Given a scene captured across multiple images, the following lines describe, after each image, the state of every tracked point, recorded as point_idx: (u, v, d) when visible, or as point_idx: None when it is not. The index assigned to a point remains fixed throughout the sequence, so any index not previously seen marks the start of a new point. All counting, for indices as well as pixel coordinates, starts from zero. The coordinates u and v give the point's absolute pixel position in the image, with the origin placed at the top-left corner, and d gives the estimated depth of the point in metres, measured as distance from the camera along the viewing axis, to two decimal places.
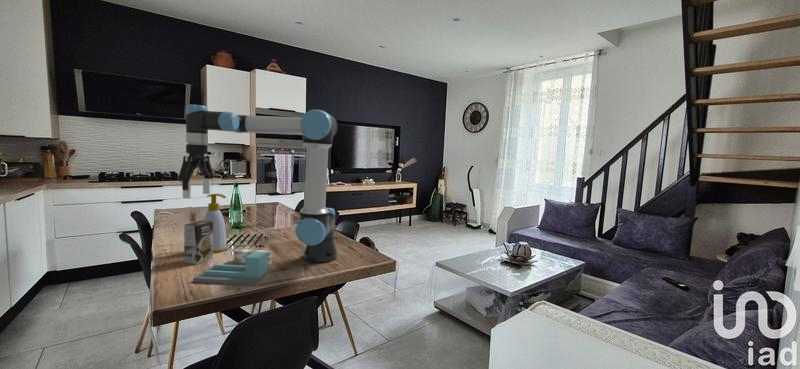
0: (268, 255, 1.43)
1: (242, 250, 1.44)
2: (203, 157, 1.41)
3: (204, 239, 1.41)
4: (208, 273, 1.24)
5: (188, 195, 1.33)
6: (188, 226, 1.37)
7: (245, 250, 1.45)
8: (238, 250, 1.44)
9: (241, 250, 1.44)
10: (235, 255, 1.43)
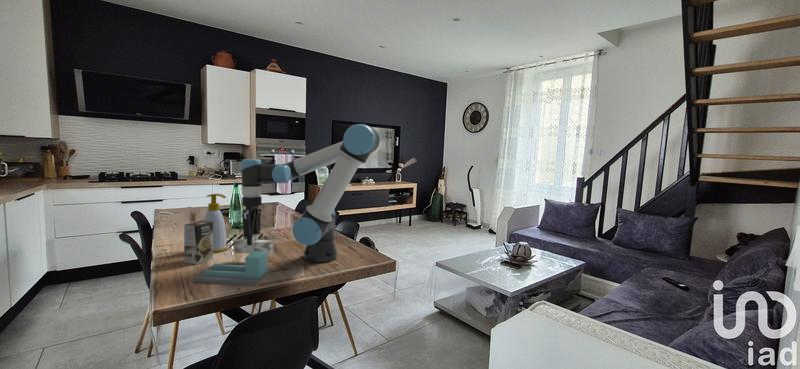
0: (269, 244, 1.42)
1: (243, 240, 1.44)
2: (257, 207, 1.45)
3: (204, 239, 1.41)
4: (208, 273, 1.24)
5: (252, 249, 1.42)
6: (188, 226, 1.37)
7: (246, 240, 1.44)
8: (239, 240, 1.43)
9: (241, 240, 1.44)
10: (236, 245, 1.42)
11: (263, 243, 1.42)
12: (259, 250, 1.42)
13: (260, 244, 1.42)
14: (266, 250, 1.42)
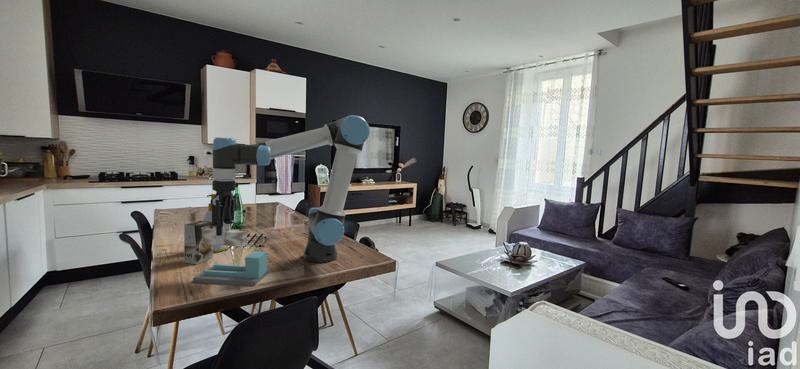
0: (241, 236, 1.25)
1: (212, 229, 1.27)
2: (230, 193, 1.28)
3: None
4: (208, 273, 1.24)
5: (222, 241, 1.25)
6: (188, 226, 1.37)
7: None
8: (208, 229, 1.26)
9: (210, 229, 1.27)
10: (204, 235, 1.25)
11: (235, 234, 1.25)
12: (230, 241, 1.25)
13: (231, 235, 1.25)
14: (238, 242, 1.25)
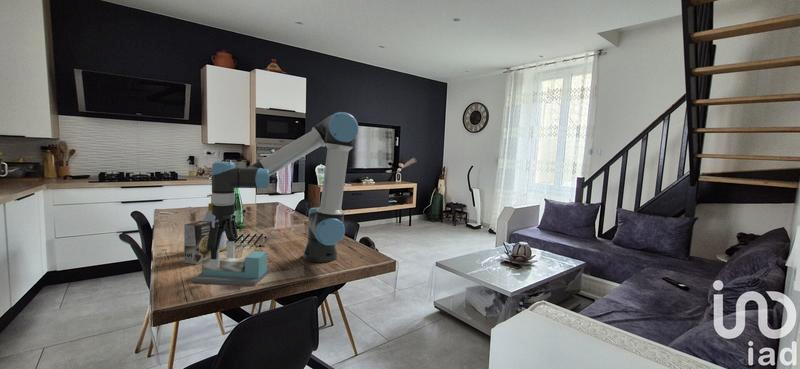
0: (241, 264, 1.26)
1: None
2: (229, 217, 1.28)
3: (204, 239, 1.41)
4: (208, 273, 1.24)
5: (217, 264, 1.22)
6: (188, 226, 1.37)
7: None
8: (207, 258, 1.27)
9: (210, 258, 1.27)
10: (203, 265, 1.26)
11: (235, 263, 1.26)
12: (230, 270, 1.26)
13: (230, 264, 1.26)
14: (238, 270, 1.26)
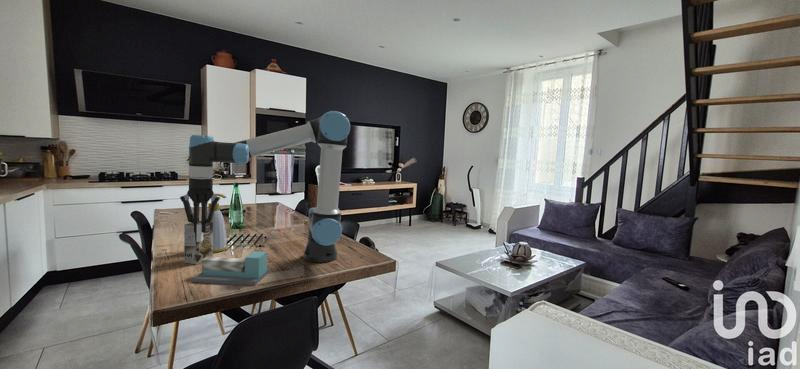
0: (241, 264, 1.26)
1: (212, 258, 1.27)
2: (208, 192, 1.24)
3: (204, 239, 1.41)
4: (208, 273, 1.24)
5: None
6: (188, 226, 1.37)
7: (215, 258, 1.27)
8: (207, 258, 1.27)
9: (210, 258, 1.27)
10: (203, 265, 1.26)
11: (235, 263, 1.26)
12: (230, 270, 1.26)
13: (230, 264, 1.26)
14: (238, 270, 1.26)
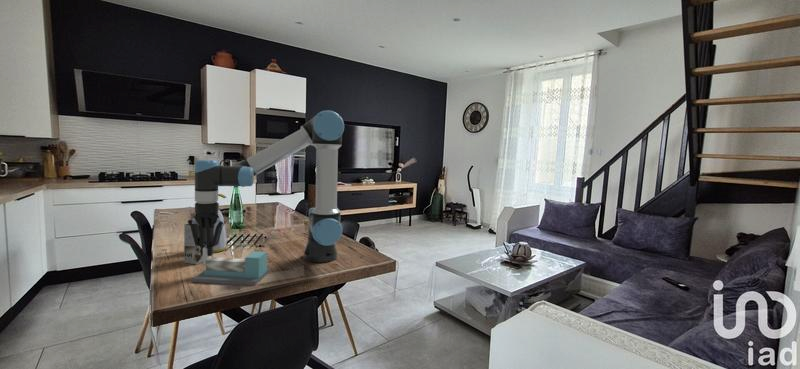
0: None
1: (215, 259, 1.27)
2: (213, 217, 1.25)
3: None
4: (208, 273, 1.24)
5: None
6: (188, 226, 1.37)
7: (219, 259, 1.27)
8: (211, 259, 1.27)
9: (214, 259, 1.27)
10: (207, 265, 1.26)
11: (238, 263, 1.25)
12: (233, 270, 1.26)
13: (234, 264, 1.26)
14: (241, 271, 1.26)
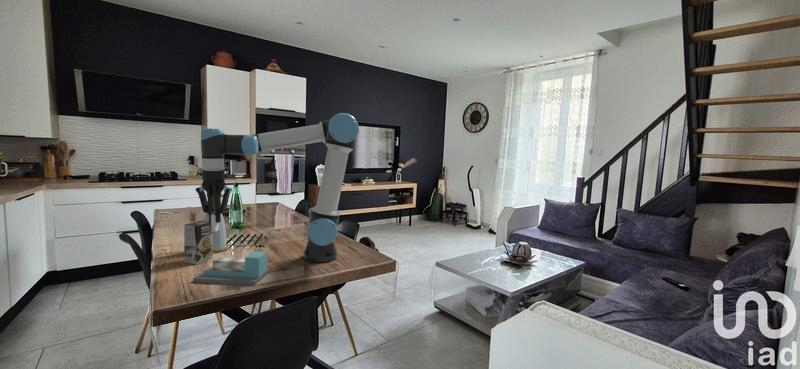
0: None
1: (222, 259, 1.27)
2: (220, 184, 1.28)
3: (204, 239, 1.41)
4: (208, 273, 1.24)
5: None
6: (188, 226, 1.37)
7: (226, 259, 1.27)
8: (218, 259, 1.27)
9: (221, 259, 1.27)
10: (214, 265, 1.26)
11: None
12: (241, 271, 1.26)
13: (241, 265, 1.26)
14: None
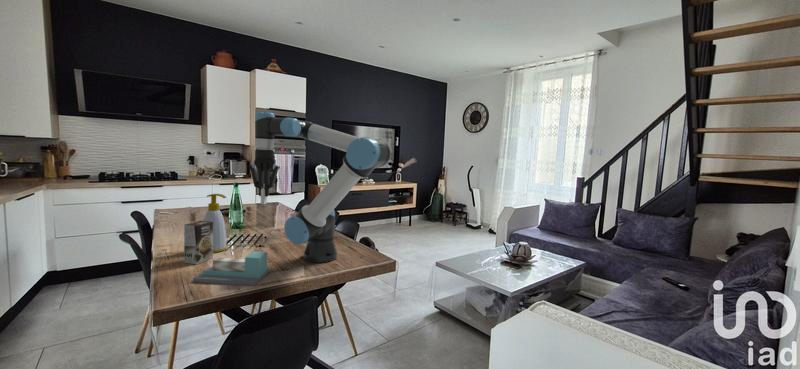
0: None
1: (222, 259, 1.27)
2: (270, 161, 1.44)
3: (204, 239, 1.41)
4: (208, 273, 1.24)
5: None
6: (188, 226, 1.37)
7: (226, 259, 1.27)
8: (218, 259, 1.27)
9: (221, 259, 1.27)
10: (214, 265, 1.26)
11: None
12: (241, 271, 1.26)
13: (241, 265, 1.26)
14: None
